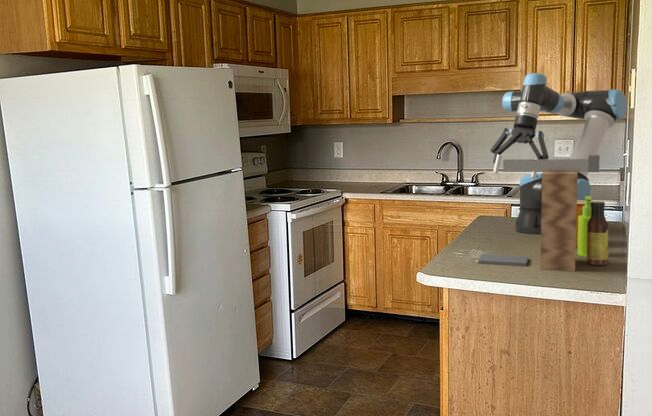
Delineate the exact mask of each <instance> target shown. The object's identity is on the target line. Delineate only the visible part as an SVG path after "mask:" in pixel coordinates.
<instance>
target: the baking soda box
mask: <svg viewBox="0 0 652 416" xmlns="http://www.w3.org/2000/svg"><path fill="white" fill-rule="evenodd" d="M591 202H594V200H593V199H592V201H591ZM584 205H585V200H577V214H576V248H577V244H578V216H581V215H582V209H583V206H584Z"/></svg>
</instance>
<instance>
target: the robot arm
mask: <svg viewBox="0 0 652 416" xmlns="http://www.w3.org/2000/svg"><path fill="white" fill-rule="evenodd" d="M547 80H548V79H547V76H546V75H544V74H542V73H536V72H530V73H527V74H526V75H525V77H524V81H523V83H522V88H521V90H519V91H518V90H517V91H507V92H505V93H504V94H503V97H502V102H501V104H502V105H501V106H502V108H503V109H504V110H505V111H507V112H512V113H514V112H516V116H515V120H514V122H513V128H512V129H508V128H507V127H505V128H504V129H503V131H502V134H501V135H500V136H499V138H498V139H497V140H496V142H495V143H494V144H493V145H492V147H491V149H490V150H489V151H490V152H491V153H492V154H494V156H493V161H492V163H493V165H494V166H493V171H492V172H493V173H494V174H495V175H498V174H499V171H500V168H501V167H500V166H501V162H502V154H503V153H504V152H505V151H506V150H508V149H509V148H510V147H511V146H512V145H514V144H515V143H518V144H526V145H527V144H529V146H530V148H531V150H532V151H533V153H534V154H535V156H536V159H550V158H549V153H548V150H547V146H546V143H545V140H544V137H545V133H544V132H543V130H539V131H536V129H537V125H538V119H539V117H540V113H542V114H544V113H545V114H547V113H548V114H550V115H551V114H558V115H559V116H560V117H567V118H572V119H578V120H585V122H584V125H583V127H582V129H581V132H580V134H579V136H578V138H577V141H576V143H575V145H574V147H573V150H572V152H571V154H570V156H569V158H568V159H588V155H598V152H599V150H600V148H601V145H602V142H603V140H604V138H605V135H606V134H607V131H608V129H610V128H611V129H612V127H614V126H615V123H616V121H617V120H622V119H624V118H625V117H626V115H627V110H628V104H627V103H628V101H627V98H626V96H625V93H624V92H623V91H622V90H620V89H611V88H609V89H605V90H604V89H603V90H602V89H600V90H583V91H578V92H577V91H576V92H563V93H561V94H559V93H560V92H557V91H555V90H553V89H552V88H550V87H549V86H548V85H547ZM510 135H511V136H510ZM509 136H510V137H509ZM508 137H509V138H508ZM535 137H536V138H538V139H537V140H538V143H539V146H540V150H541V153H540V151H539V149H538V148H537V146H536V144H535V141H534V140H533V139H534V138H535ZM507 138H508V139H507ZM506 139H507V141H506ZM530 173H531V174H525V175H522V176H521V177H520V181H519V212H518V215H517V218H516V221H515V224H514V230H515V231H516V232H518V233H524V234H536V235H537V234H540V235H541V206H542V173H543V172H530ZM588 174H589V172H578V175H577V200H585V196H591V191H592V187H591V184H590V180H589V178H588Z"/></svg>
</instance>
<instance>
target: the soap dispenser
mask: <svg viewBox="0 0 652 416" xmlns="http://www.w3.org/2000/svg"><path fill="white" fill-rule="evenodd" d="M592 200H593V198H592V195H590V196H585V205H584V206H583V209H582V215H581V216H578V244H577V250H576V252H577V253H576V254H577V256H580V257H586V258H587V224H588V221H589V220H590V218H591V201H592Z"/></svg>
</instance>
